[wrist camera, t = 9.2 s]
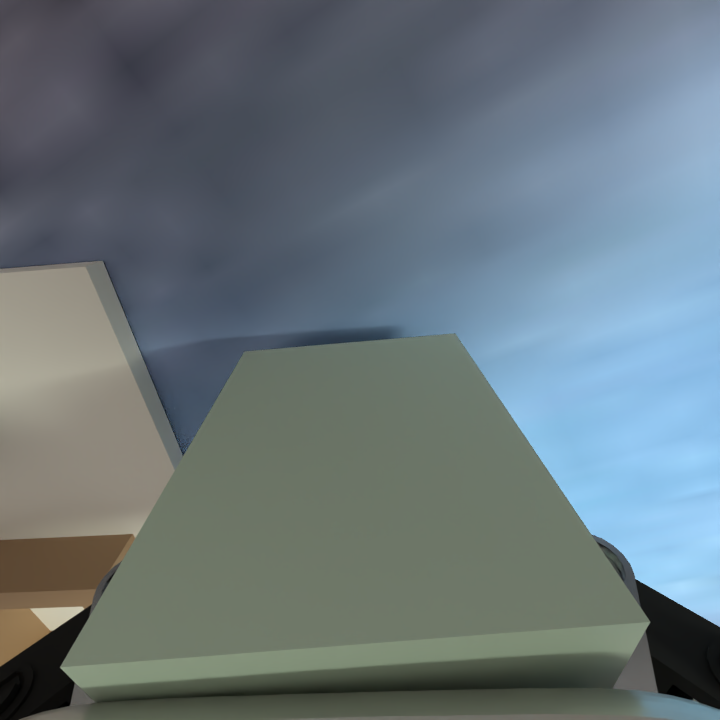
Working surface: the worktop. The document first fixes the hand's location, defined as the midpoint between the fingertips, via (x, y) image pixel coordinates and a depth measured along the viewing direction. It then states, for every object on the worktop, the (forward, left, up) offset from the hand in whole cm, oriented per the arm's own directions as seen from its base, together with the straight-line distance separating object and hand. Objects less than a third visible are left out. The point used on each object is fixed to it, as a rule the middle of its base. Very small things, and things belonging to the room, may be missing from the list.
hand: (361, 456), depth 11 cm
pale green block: (0, 0, -2) cm, 2 cm away
